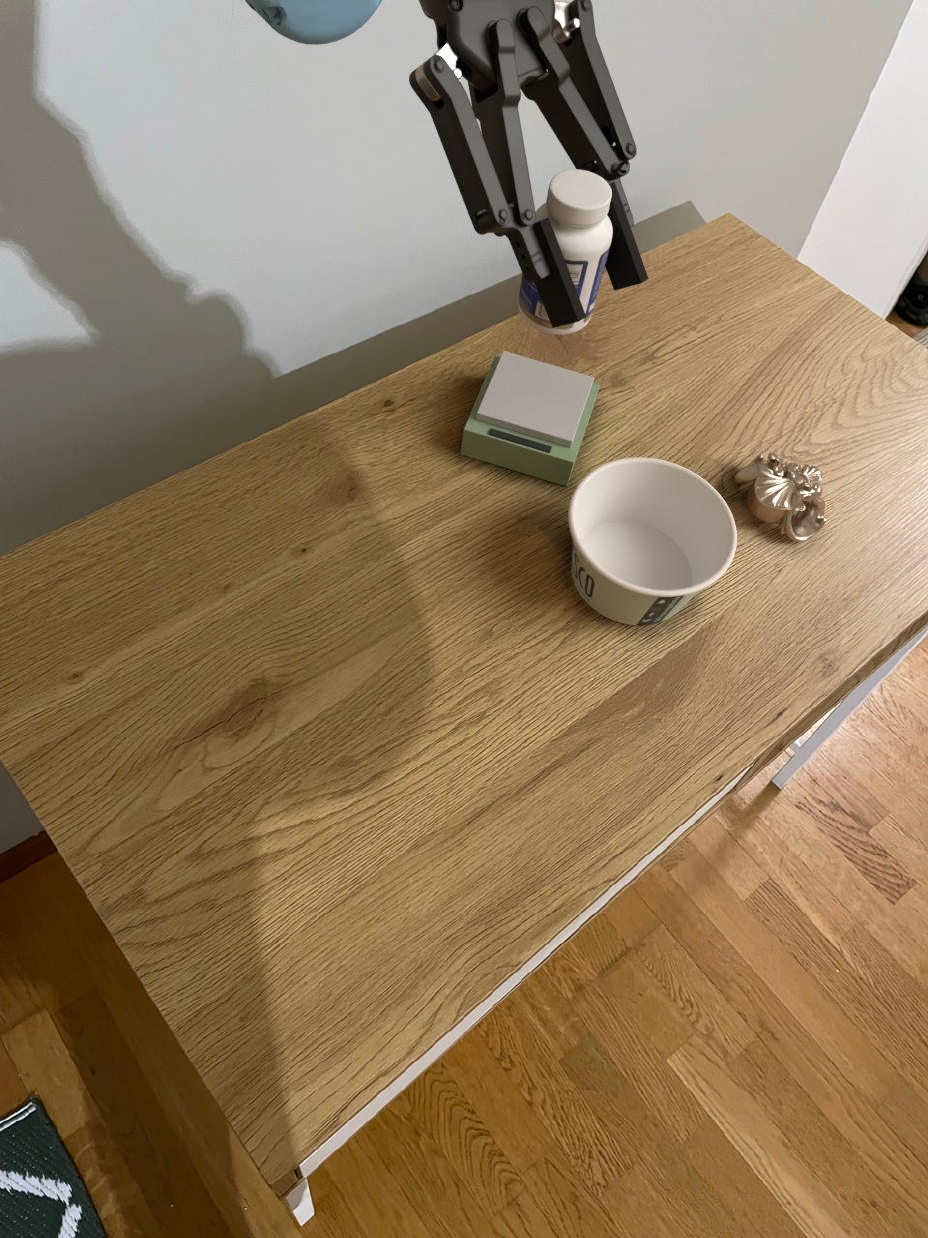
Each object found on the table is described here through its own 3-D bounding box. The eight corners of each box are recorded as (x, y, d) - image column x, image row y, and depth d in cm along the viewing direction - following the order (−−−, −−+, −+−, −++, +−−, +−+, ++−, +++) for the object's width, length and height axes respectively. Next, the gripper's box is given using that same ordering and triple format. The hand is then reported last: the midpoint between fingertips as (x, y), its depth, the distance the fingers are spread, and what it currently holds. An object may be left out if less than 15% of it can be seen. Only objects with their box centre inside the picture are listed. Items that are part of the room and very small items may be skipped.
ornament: (842, 521, 76) (863, 493, 72) (782, 557, 73) (800, 529, 70) (775, 455, 79) (791, 425, 75) (715, 487, 76) (729, 457, 73)
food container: (738, 614, 70) (770, 565, 64) (596, 663, 67) (617, 616, 61) (661, 493, 75) (684, 439, 70) (527, 533, 72) (540, 479, 67)
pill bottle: (560, 276, 69) (587, 152, 60) (606, 321, 67) (640, 199, 58) (501, 300, 67) (521, 176, 58) (546, 347, 65) (573, 225, 56)
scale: (460, 454, 76) (464, 422, 72) (492, 379, 80) (497, 345, 77) (566, 486, 75) (575, 455, 72) (592, 409, 79) (602, 376, 76)
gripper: (531, -88, 61) (651, 260, 70) (303, -9, 53) (469, 369, 62) (608, -155, 55) (729, 237, 63) (361, -75, 47) (537, 356, 56)
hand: (600, 302), depth 63 cm, fingers closed on pill bottle, 5 cm apart
